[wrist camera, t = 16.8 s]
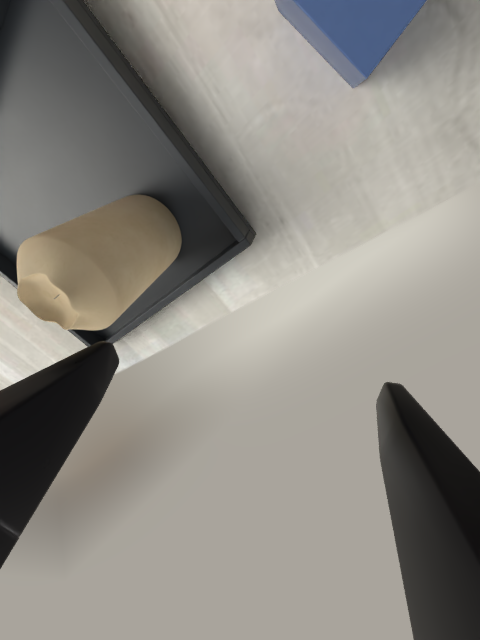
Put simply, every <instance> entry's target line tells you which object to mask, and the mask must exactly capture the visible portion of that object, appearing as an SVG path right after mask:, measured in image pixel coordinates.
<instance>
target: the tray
mask: <svg viewBox="0 0 480 640" xmlns="http://www.w3.org/2000/svg"><path fill="white" fill-rule="evenodd" d="M130 195H146V196H150V197H152V198H154V199H156V200H158V201H159V202H161V203H162V204H163V205H165V206H166V207H167V208H168V209H169V211H170V212H171V213H172V214H173V216H174V217H175V219H176V221H177V223H178V225H179V228H180V231H181V238H182V244H181V249H180V252H179V254H178V256H177V258H176V259H175V260H174V261H173V262H172V264H171V265H170V266H169V267H168V268H167V269H166V270H165V271H164V272H163V273H162V274H161V275H160V276H159V277H158V278H157V279H156V280H155V281H154V282H153V283H152V284H151V285H150V286H149V287H148V288H147V289H146V290H145V291H144V292H143V293H142V294H141V295H140V296H139V297H138V298H137V299H136V300H135V301H134V302H133V303H132V304H131V305H130V306H129V307H128V308H127V309H126V310H125V311H124V312H123V313H122V314H121V315H120V317H119V318H118V319H117V320H116V321H115V322H114V323H113V324H111V325H110V326H109V327H107V328H105V329H102V330H79V329H69V330H68V331H69V332H71V333H72V334H73V335H74V336H75V337H77V338H78V339H79V340H80V341H82V342H83V343H84V344H85V345H86V346H88V347H89V346H91V345H93V344H95V343H97V342H100V341H104V342H110V343H112V344H113V343H114V342H116V341H117V340H119V339H120V338H121V337H123V336H124V335H126V334H127V333H128V332H130V331H131V330H133V329H134V328H135V327H137V326H138V325H140V324H141V323H142V322H144V321H145V320H147V319H148V318H149V317H151V316H152V315H154V314H155V313H156V312H158V311H159V310H161V309H162V308H163V307H165V306H166V305H168V304H169V303H170V302H172V301H173V300H175V299H176V298H177V297H179V296H180V295H182V294H183V293H184V292H186V291H187V290H189V289H190V288H191V287H193V286H194V285H196V284H197V283H198V282H200V281H201V280H203V279H204V278H205V277H207V276H208V275H210V274H211V273H212V272H214V271H215V270H217V269H218V268H219V267H221V266H222V265H224V264H225V263H226V262H228V261H229V260H231V259H232V258H233V257H235V256H236V255H238V254H239V253H240V252H242V251H243V250H245V249H246V248H247V247H249V246H250V245H251V243H252V242H253V240H254V238H255V236H256V233H255V232H254V230H253V229H252V228H251V226H250V225H249V224H248V222H247V221H246V220H245V218H244V217H243V216H242V214H241V213H240V212H239V210H238V209H237V208H236V206H235V205H234V204H233V202H232V201H231V199H230V198H229V197H228V195H227V194H226V193H225V191H224V190H223V189H222V187H221V186H220V185H219V183H218V182H217V181H216V179H215V178H214V177H213V175H212V174H211V173H210V171H209V170H208V169H207V167H206V166H205V165H204V163H203V162H202V160H201V159H200V158H199V156H198V155H197V154H196V152H195V151H194V150H193V148H192V147H191V146H190V144H189V143H188V142H187V140H186V139H185V138H184V136H183V135H182V134H181V132H180V131H179V130H178V128H177V127H176V126H175V124H174V123H173V122H172V120H171V119H170V117H169V116H168V115H167V113H166V112H165V111H164V109H163V108H162V107H161V105H160V104H159V103H158V101H157V100H156V99H155V97H154V96H153V95H152V93H151V92H150V91H149V89H148V88H147V87H146V85H145V84H144V83H143V81H142V80H141V78H140V77H139V76H138V74H137V73H136V72H135V70H134V69H133V68H132V66H131V65H130V64H129V62H128V61H127V60H126V58H125V57H124V56H123V54H122V53H121V52H120V50H119V49H118V48H117V46H116V45H115V44H114V42H113V41H112V39H111V38H110V37H109V35H108V34H107V33H106V31H105V30H104V29H103V27H102V26H101V25H100V23H99V22H98V21H97V19H96V18H95V17H94V15H93V14H92V13H91V11H90V10H89V9H88V7H87V6H86V5H85V3H84V2H83V1H82V0H0V276H2V277H3V278H4V279H5V280H7V281H8V282H9V283H10V284H11V285H13V286H14V287H15V288H16V289H18V278H17V253H18V249H19V247H20V245H21V244H22V243H23V242H24V241H25V240H27V239H28V238H30V237H33V236H35V235H37V234H40V233H42V232H44V231H47V230H49V229H51V228H54V227H56V226H58V225H61V224H63V223H65V222H68V221H70V220H72V219H75V218H77V217H79V216H82V215H84V214H86V213H89V212H91V211H93V210H96V209H98V208H100V207H103V206H105V205H107V204H110V203H112V202H114V201H117V200H119V199H122V198H124V197H127V196H130Z"/></svg>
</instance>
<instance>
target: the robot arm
mask: <svg viewBox="0 0 480 640" xmlns="http://www.w3.org/2000/svg"><path fill="white" fill-rule="evenodd" d="M118 365H119V358H118V355H117V353H116V350H115V348H114V346H113V344H112V343H110V342H104V341H100V342H97V343H95V344H93V345H91V346H89V347H87V348H85V349H83V350H81V351H79V352H77V353H75V354H73V355H71V356H69V357H67V358H65V359H63V360H61V361H59V362H57V363H55V364H53V365H51V366H49V367H47V368H45V369H43V370H41V371H39V372H37V373H35V374H33V375H31V376H29V377H27V378H25V379H23V380H21V381H19V382H17V383H15V384H13V385H11V386H9V387H7V388H5V389H3V390H1V391H0V569H1V567H2V565H3V563H4V562H5V560H6V559H7V557H8V555H9V554H10V552H11V550H12V549H13V547H14V545H15V544H16V542H17V540H18V539H19V536H20V535H21V534H22V532H23V530H24V528H25V527H26V525H27V523H28V522H29V520H30V518H31V517H32V515H33V514H34V512H35V510H36V509H37V507H38V505H39V504H40V502H41V500H42V499H43V497H44V495H45V494H46V492H47V490H48V489H49V487H50V486H51V484H52V482H53V481H54V479H55V477H56V476H57V474H58V472H59V471H60V469H61V467H62V466H63V464H64V462H65V461H66V459H67V457H68V456H69V454H70V452H71V450H72V449H73V447H74V446H75V444H76V442H77V441H78V439H79V437H80V436H81V434H82V432H83V431H84V429H85V428H86V426H87V424H88V423H89V421H90V419H91V418H92V416H93V414H94V413H95V411H96V409H97V408H98V406H99V404H100V402H101V400H102V398H103V396H104V394H105V392H106V390H107V388H108V386H109V384H110V382H111V380H112V378H113V375H114V373H115V371H116V369H117V367H118ZM376 409H377V424H378V438H379V452H380V461H381V467H382V472H383V478H384V483H385V488H386V494H387V499H388V504H389V509H390V515H391V520H392V526H393V530H394V536H395V541H396V547H397V552H398V557H399V562H400V568H401V574H402V579H403V584H404V589H405V595H406V600H407V606H408V610H409V616H410V621H411V627H412V632H413V638H414V640H480V472H479V470H478V469H477V468H476V467H475V466H474V465H473V464H472V463H471V462H470V461H469V459H468V458H467V457H466V456H465V455H464V454H463V453H462V451H461V450H460V449H459V448H458V447H457V446H456V445H455V444H454V442H453V441H452V440H451V439H450V438H449V437H448V436H447V435H446V434H445V432H444V431H443V430H442V429H441V428H440V427H439V426H438V425H437V423H436V422H435V421H434V420H433V419H432V418H431V417H430V416H429V415H428V413H427V412H426V411H425V410H424V409H423V408H422V407H421V406H420V405H419V403H418V402H417V401H416V400H415V399H414V398H413V397H412V395H411V394H410V393H409V392H408V391H407V390H406V389H405V388H404V386H402V385H401V384H398V383H390V382H386V383H384V385H383V387H382V389H381V392H380V394H379V397H378V399H377V404H376Z"/></svg>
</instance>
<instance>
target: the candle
mask: <svg viewBox="0 0 480 640" xmlns="http://www.w3.org/2000/svg"><path fill="white" fill-rule="evenodd" d="M181 244H182V238H181V231H180V228H179V225H178V223H177V221H176V219H175V217H174V216H173V214H172V213H171V212H170V211H169V209H168V208H167V207H166V206H165V205H163V204H162V203H161V202H159V201H158V200H156V199H154V198H152V197H150V196H146V195H130V196H127V197H124V198H122V199H119V200H117V201H114V202H112V203H110V204H107V205H105V206H103V207H100V208H98V209H96V210H93V211H91V212H89V213H86V214H84V215H82V216H79V217H77V218H75V219H72V220H70V221H68V222H65V223H63V224H61V225H58V226H56V227H54V228H51V229H49V230H47V231H44V232H42V233H40V234H37V235H35V236H33V237H30V238H28V239H27V240H25V241H24V242H23V243H22V244H21V245H20V247H19V249H18V253H17V278H18V289H17V294H18V298H19V299H20V301H21V302H22V303H23V304H25V305H26V306H27V307H28V308H29V309H30V310H31V311H32V312H33V313H34V314H35V315H36V316H37V317H38V318H40V319H41V320H44V321H49V322H54V323H57V324H59V325H60V326H61V327H62V328H63V329H66V330H69V329H79V330H102V329H105V328H107V327H109V326H110V325H111V324H113V323H114V322H115V321H116V320H117V319H118V318H119V317H120V315H121V314H122V313H123V312H124V311H125V310H126V309H127V308H128V307H129V306H130V305H131V304H132V303H133V302H134V301H135V300H136V299H137V298H138V297H139V296H140V295H141V294H142V293H143V292H144V291H145V290H146V289H147V288H148V287H149V286H150V285H151V284H152V283H153V282H154V281H155V280H156V279H157V278H158V277H159V276H160V275H161V274H162V273H163V272H164V271H165V270H166V269H167V268H168V267H169V266H170V265H171V264H172V262H173V261H174V260H175V259H176V258H177V256H178V254H179V252H180V249H181Z"/></svg>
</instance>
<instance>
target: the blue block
mask: <svg viewBox="0 0 480 640" xmlns="http://www.w3.org/2000/svg"><path fill="white" fill-rule="evenodd" d="M426 1H427V0H275V3H276V5H277V8H278V11H279V12H280V13H281V14H282V15H283V16H284V17H285V18H286V19H287V20H288V21H289V22H290V23H291V24H292V25H293V26H294V27H295V29H296V30H297V31H298V32H299V33H300V34H301V35H302V36H303V37H304V38H305V39H306V40H307V41H308V42H309V43H310V44H311V45H312V46H313V47H314V48H315V49H316V50H317V51H318V53H319V54H320V55H321V56H322V57H323V58H324V59H325V60H326V61H327V62H328V63H329V64H330V65H331V66H332V67H333V68H334V69H335V70H336V71H337V72H338V73H339V74H340V75H341V76H342V78H343V79H344V80H345V81H346V82H347V83H348V84H349V85H350V86H351V87H352V88H355V87H356V86H357V85H359V84H360V83H361V82H363V81H364V80H365V79H367V78H368V77H369V75H370V74H371V73H372V72H373V70H374V69H375V68H376V66H377V65H378V64H379V62H380V61H381V60H382V58H383V57H384V56H385V55H386V53H387V52H388V51H389V49H390V48H391V47H392V45H393V44H394V43H395V41H396V40H397V39H398V37H399V36H400V35H401V34H402V32H403V31H404V30H405V28H406V27H407V26H408V24H409V23H410V22H411V20H412V19H413V18H414V17H415V15H416V14H417V13H418V11H419V10H420V9H421V7H422V6H423V5H424V3H425V2H426Z"/></svg>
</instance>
